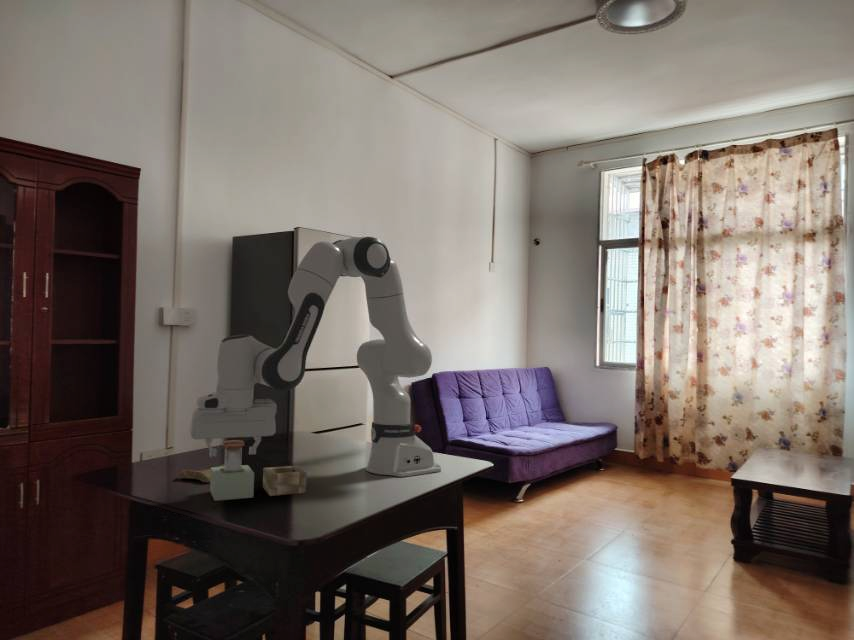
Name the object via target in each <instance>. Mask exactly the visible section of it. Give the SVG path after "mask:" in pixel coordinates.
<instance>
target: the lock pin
mask: <svg viewBox="0 0 854 640" xmlns="http://www.w3.org/2000/svg"><path fill="white" fill-rule="evenodd" d="M244 446H245V441H244V440H241V439H230V440H229V439H227V440H224V441H223V443H222V447H223V448H224V463H223V464H224V473H233V472H241V466H242V458H243V457H242V455H243V452H242V451H243V447H244Z"/></svg>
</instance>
